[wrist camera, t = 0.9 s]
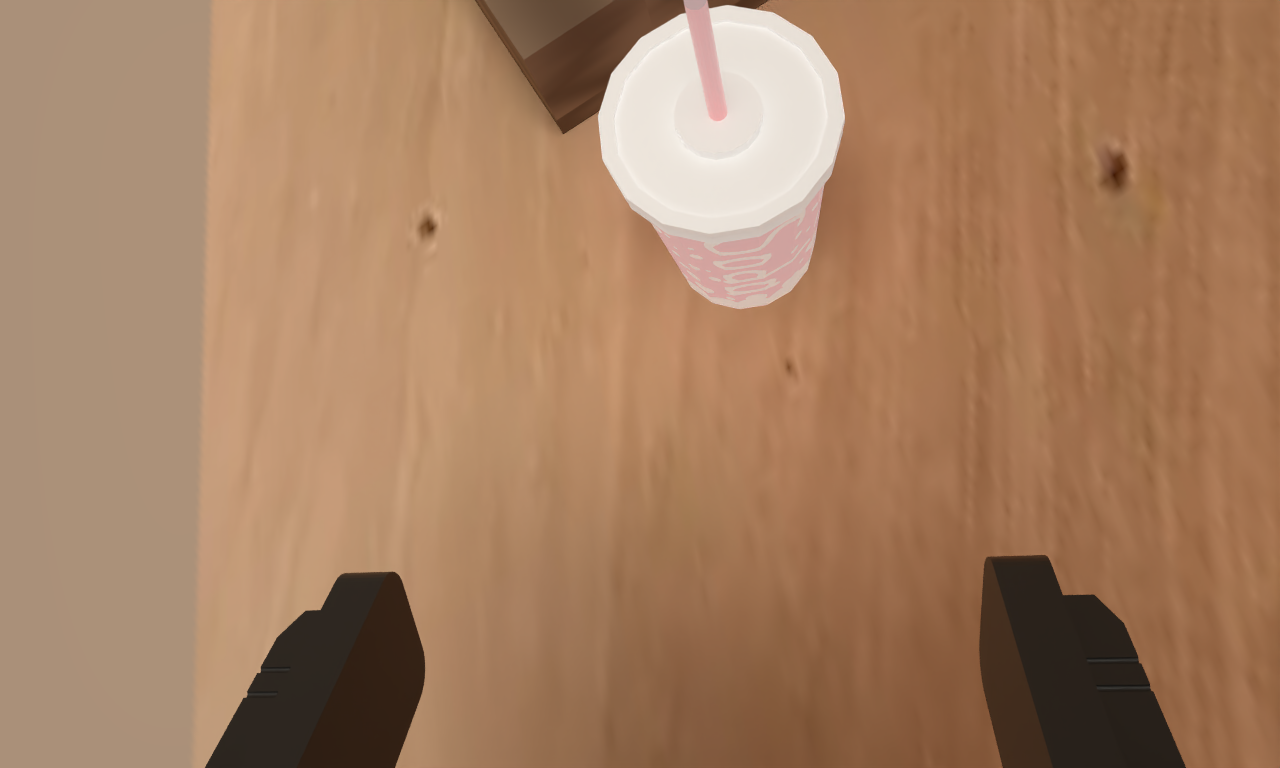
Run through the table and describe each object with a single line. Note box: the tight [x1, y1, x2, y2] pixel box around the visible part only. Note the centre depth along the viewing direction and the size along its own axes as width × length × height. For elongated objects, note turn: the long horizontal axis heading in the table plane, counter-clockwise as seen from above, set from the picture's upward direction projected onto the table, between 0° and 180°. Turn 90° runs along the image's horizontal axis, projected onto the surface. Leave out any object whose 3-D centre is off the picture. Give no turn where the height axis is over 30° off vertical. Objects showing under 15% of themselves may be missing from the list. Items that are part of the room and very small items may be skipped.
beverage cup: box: [598, 0, 845, 309], centre depth 27 cm, size 6×6×14 cm
